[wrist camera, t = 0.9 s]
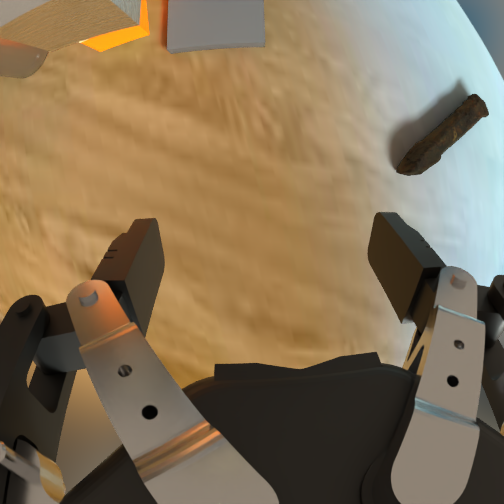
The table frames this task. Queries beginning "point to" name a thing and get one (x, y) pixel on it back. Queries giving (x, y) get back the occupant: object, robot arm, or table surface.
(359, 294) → the table surface
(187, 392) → the robot arm
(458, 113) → the hand tool
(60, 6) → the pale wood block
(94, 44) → the orange juice
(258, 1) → the shelf
